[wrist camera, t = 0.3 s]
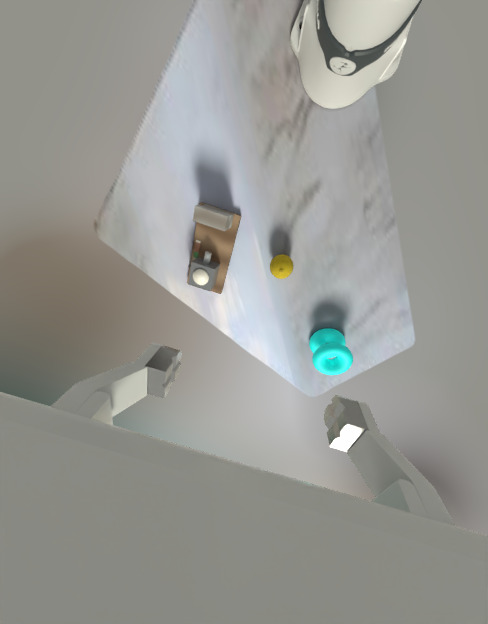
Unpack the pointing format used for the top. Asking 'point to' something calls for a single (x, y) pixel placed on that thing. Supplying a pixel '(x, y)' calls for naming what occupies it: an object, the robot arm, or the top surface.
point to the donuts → (330, 352)
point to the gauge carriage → (203, 272)
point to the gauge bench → (215, 238)
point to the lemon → (281, 266)
